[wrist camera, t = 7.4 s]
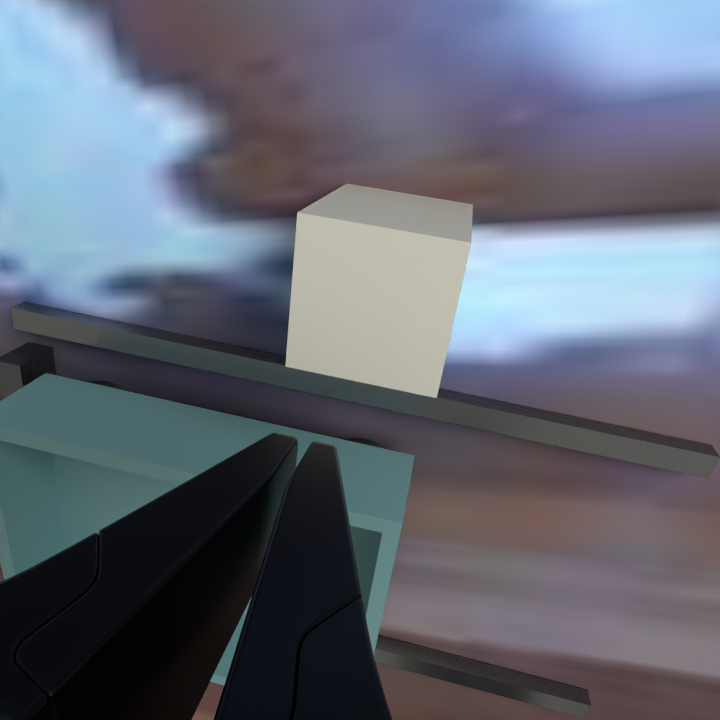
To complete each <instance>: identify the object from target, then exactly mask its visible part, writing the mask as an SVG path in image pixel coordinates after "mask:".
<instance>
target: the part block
mask: <svg viewBox="0 0 720 720" xmlns="http://www.w3.org/2000/svg"><path fill="white" fill-rule="evenodd" d="M472 211H473V205H472V204H466V203H460V202H454V201H448V200H442V199H436V198H430V197H424V196H418V195H412V194H406V193H400V192H394V191H388V190H382V189H376V188H370V187H364V186H358V185H352V184H345V185H343V186H342V187H340V188H338V189H337V190H335V191H333V192H331V193H330V194H328V195H326V196H325V197H323V198H321V199H319V200H318V201H316V202H314V203H313V204H311V205H309V206H308V207H306V208H304V209H302V210H301V211H299V212H297V224H296V236H295V249H294V262H293V275H292V288H291V300H290V313H289V326H288V339H287V352H286V365H285V367H290V368H295V369H299V370H304V371H309V372H314V373H319V374H323V375H328V376H333V377H338V378H343V379H347V380H352V381H357V382H362V383H367V384H371V385H376V386H381V387H386V388H390V389H395V390H400V391H405V392H410V393H414V394H419V395H424V396H429V397H434V398H437V394H438V390H439V385H440V381H441V376H442V372H443V367H444V363H445V358H446V354H447V349H448V345H449V340H450V336H451V331H452V327H453V322H454V318H455V313H456V309H457V304H458V300H459V295H460V291H461V286H462V282H463V277H464V273H465V268H466V264H467V259H468V255H469V250H470V246H471V234H472Z"/></svg>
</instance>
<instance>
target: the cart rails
mask: <svg viewBox="0 0 720 720" xmlns="http://www.w3.org/2000/svg"><path fill="white" fill-rule="evenodd" d="M11 313H12V319H13V325H14V329H16V330H21V331H25V332H30V333H34V334H39V335H44V336H48V337H53V338H58V339H62V340H67V341H72V342H76V343H81V344H86V345H90V346H95V347H99V348H104V349H109V350H113V351H118V352H123V353H127V354H132V355H137V356H141V357H146V358H151V359H155V360H160V361H164V362H169V363H174V364H178V365H183V366H188V367H192V368H197V369H202V370H206V371H211V372H216V373H220V374H225V375H229V376H234V377H239V378H243V379H248V380H253V381H257V382H262V383H267V384H271V385H276V386H281V387H285V388H290V389H294V390H299V391H304V392H308V393H313V394H318V395H322V396H327V397H332V398H336V399H341V400H346V401H350V402H355V403H359V404H364V405H369V406H373V407H378V408H383V409H387V410H392V411H397V412H401V413H406V414H411V415H415V416H420V417H424V418H429V419H434V420H438V421H443V422H448V423H452V424H457V425H462V426H466V427H471V428H476V429H480V430H485V431H489V432H494V433H499V434H503V435H508V436H513V437H517V438H522V439H527V440H531V441H536V442H541V443H545V444H550V445H554V446H559V447H564V448H568V449H573V450H578V451H582V452H587V453H592V454H596V455H601V456H606V457H610V458H615V459H619V460H624V461H629V462H633V463H638V464H643V465H647V466H652V467H657V468H661V469H666V470H671V471H675V472H680V473H684V474H689V475H694V476H698V477H703V478H708V479H709V478H710V476H711V474H712V472H713V470H714V468H715V466H716V464H717V462H718V460H719V458H720V456H719V455H718V454H717V452H716V451H715V449H714V448H713V446H712V445H708V444H703V443H699V442H694V441H689V440H684V439H679V438H675V437H670V436H665V435H660V434H656V433H651V432H646V431H641V430H636V429H632V428H627V427H622V426H617V425H612V424H608V423H603V422H598V421H593V420H588V419H584V418H579V417H574V416H569V415H564V414H560V413H555V412H550V411H545V410H540V409H536V408H531V407H526V406H521V405H516V404H512V403H507V402H502V401H497V400H493V399H488V398H483V397H478V396H473V395H469V394H464V393H459V392H454V391H449V390H445V389H440V388H439V390H438V394H437V398H434V397H429V396H424V395H419V394H414V393H410V392H405V391H400V390H395V389H390V388H386V387H381V386H376V385H371V384H367V383H362V382H357V381H352V380H347V379H343V378H338V377H333V376H328V375H323V374H319V373H314V372H309V371H304V370H299V369H295V368H290V367H285V365H286V356H282V355H277V354H272V353H267V352H262V351H258V350H253V349H248V348H243V347H238V346H234V345H229V344H224V343H219V342H214V341H210V340H205V339H200V338H195V337H191V336H186V335H181V334H176V333H171V332H167V331H162V330H157V329H152V328H147V327H143V326H138V325H133V324H128V323H123V322H119V321H114V320H109V319H104V318H99V317H95V316H90V315H85V314H80V313H75V312H71V311H66V310H61V309H56V308H51V307H47V306H42V305H37V304H32V303H28V302H23V303H21V304H18V305H16V306H14V307H11ZM45 373H48V374H53V375H56V372H55V364H54V356H53V349H52V347H48V346H43V345H39V344H34V343H29V342H28V343H26V344H24V345H22V346H21V347H19V348H17V349H15V350H13V351H11V352H9V353H7V354H5V355H3V356H2V357H0V395H1V400H3V399H5V398H6V397H8V396H10V395H11V394H13V393H14V392H16V391H18V390H19V389H21V388H22V387H24V386H26V385H27V384H29V383H31V382H32V381H34V380H35V379H37V378H39V377H40V376H42V375H43V374H45ZM374 660H375V662H378V663H382V664H385V665H389V666H393V667H397V668H400V669H404V670H408V671H411V672H415V673H419V674H422V675H426V676H430V677H434V678H437V679H441V680H445V681H448V682H452V683H456V684H460V685H463V686H467V687H471V688H474V689H478V690H482V691H486V692H489V693H493V694H497V695H500V696H504V697H508V698H511V699H515V700H519V701H523V702H526V703H530V704H534V705H537V706H541V707H545V708H549V709H552V710H556V711H560V712H563V713H567V714H571V715H574V716H578V717H582V718H585V716H586V714H587V712H588V710H589V708H590V706H591V704H590V699H589V694H588V690H585V689H581V688H577V687H573V686H570V685H566V684H562V683H558V682H554V681H551V680H547V679H543V678H539V677H535V676H532V675H528V674H524V673H520V672H516V671H513V670H509V669H505V668H501V667H498V666H494V665H490V664H486V663H482V662H479V661H475V660H471V659H467V658H463V657H460V656H456V655H452V654H448V653H444V652H441V651H437V650H433V649H429V648H426V647H422V646H418V645H414V644H410V643H407V642H403V641H399V640H395V639H391V638H388V637H384V636H380V635H378V639H377V643H376V648H375V652H374Z"/></svg>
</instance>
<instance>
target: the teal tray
mask: <svg viewBox="0 0 720 720" xmlns="http://www.w3.org/2000/svg"><path fill="white" fill-rule="evenodd" d="M274 432H276V433H281V434H286V435H290V436H294V437H296V438H297V440H298V452H297V463H296V467H297V466H298V464H299V462H300V461H301V459H302V457H303V455H304V454H305V452H306V450H307V449H308V447H309V445H310V444H311V443H312V442H314V441H317V442H322V443H327V444H331V445H334V446H336V448H337V452H338V458H339V464H340V470H341V476H342V482H343V488H344V494H345V500H346V505H347V511H348V517H349V523H350V529H351V535H352V541H353V547H354V553H355V558H356V564H357V570H358V576H359V582H360V588H361V594H362V601H363V604H364V610H365V616H366V621H367V627H368V631H369V636H370V641H371V646H372V650H373V655H374V652H375V648H376V643H377V639H378V634H379V629H380V625H381V620H382V616H383V611H384V607H385V602H386V597H387V593H388V588H389V584H390V579H391V575H392V570H393V566H394V561H395V556H396V552H397V547H398V543H399V538H400V534H401V529H402V524H403V519H404V513H405V508H406V502H407V496H408V491H409V485H410V479H411V474H412V468H413V462H414V457H415V456H414V455H410V454H405V453H401V452H397V451H392V450H388V449H383V447H381V446H380V445H379V444H377V443H375V442H373V441H370V440H367V439H350V440H343V439H338V438H334V437H330V436H325V435H321V434H316V433H312V432H307V431H303V430H298V429H294V428H289V427H285V426H280V425H276V424H271V423H267V422H263V421H258V420H254V419H249V418H245V417H240V416H236V415H231V414H227V413H222V412H218V411H213V410H209V409H204V408H200V407H196V406H191V405H187V404H182V403H178V402H173V401H169V400H164V399H160V398H155V397H151V396H146V395H142V394H137V393H133V392H129V391H124V390H120V388H119V387H118V386H117V385H116V384H114V383H111V382H106V381H93V382H84V381H79V380H75V379H70V378H66V377H62V376H57V375H53V374H48V373H45V374H43V375H42V376H40V377H39V378H37V379H35V380H34V381H32V382H31V383H29V384H27V385H26V386H24V387H22V388H21V389H19V390H18V391H16V392H14V393H13V394H11V395H10V396H8V397H6V398H5V399H3V400H1V401H0V563H1V567H2V572H3V577H4V580H6V579H8V578H10V577H12V576H14V575H16V574H18V573H20V572H22V571H24V570H26V569H29V568H31V567H33V566H34V565H36V564H38V563H40V562H42V561H44V560H46V559H48V558H49V557H51V556H53V555H55V554H57V553H59V552H61V551H62V550H64V549H66V548H68V547H70V546H72V545H74V544H75V543H77V542H79V541H81V540H82V539H84V538H86V537H88V536H90V535H91V534H93V533H97V534H98V535H99V531H100V530H101V529H102V528H104V527H106V526H108V525H109V524H111V523H113V522H115V521H117V520H118V519H120V518H122V517H124V516H125V515H127V514H129V513H131V512H133V511H134V510H136V509H138V508H140V507H141V506H143V505H145V504H147V503H148V502H150V501H152V500H154V499H156V498H157V497H159V496H161V495H163V494H164V493H166V492H168V491H170V490H172V489H173V488H175V487H177V486H179V485H180V484H182V483H184V482H186V481H188V480H189V479H191V478H193V477H195V476H196V475H198V474H200V473H202V472H204V471H205V470H207V469H209V468H211V467H212V466H214V465H216V464H218V463H220V462H221V461H223V460H225V459H227V458H228V457H230V456H232V455H234V454H235V453H237V452H239V451H241V450H243V449H244V448H246V447H248V446H250V445H251V444H253V443H255V442H257V441H259V440H260V439H262V438H264V437H266V436H267V435H269V434H271V433H274ZM251 598H252V597H251ZM250 601H251V599H250ZM250 601H249V603H248V605H247V607H246V609H245V611H244V613H243V615H242V617H241V619H240V621H239V623H238V625H237V627H236V629H235V631H234V633H233V636H232V638H231V640H230V642H229V644H228V646H227V648H226V650H225V652H224V654H223V656H222V658H221V660H220V662H219V664H218V666H217V668H216V670H215V672H214V674H213V676H212V678H211V680H210V682H213V683H217V684H220V685H225V682H226V679H227V675H228V672H229V669H230V666H231V662H232V659H233V656H234V653H235V649H236V646H237V643H238V640H239V636H240V633H241V630H242V627H243V623H244V620H245V617H246V614H247V610H248V607H249V604H250Z"/></svg>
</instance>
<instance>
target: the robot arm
mask: <svg viewBox="0 0 720 720" xmlns="http://www.w3.org/2000/svg"><path fill="white" fill-rule="evenodd" d="M297 452H298V440H297V438H296V437H294V436H290V435H286V434H281V433H276V432H274V433H271V434H269V435H267V436H266V437H264V438H262V439H260V440H259V441H257V442H255V443H253V444H251V445H250V446H248V447H246V448H244V449H243V450H241V451H239V452H237V453H235V454H234V455H232V456H230V457H228V458H227V459H225V460H223V461H221V462H220V463H218V464H216V465H214V466H212V467H211V468H209V469H207V470H205V471H204V472H202V473H200V474H198V475H196V476H195V477H193V478H191V479H189V480H188V481H186V482H184V483H182V484H180V485H179V486H177V487H175V488H173V489H172V490H170V491H168V492H166V493H164V494H163V495H161V496H159V497H157V498H156V499H154V500H152V501H150V502H148V503H147V504H145V505H143V506H141V507H140V508H138V509H136V510H134V511H133V512H131V513H129V514H127V515H125V516H124V517H122V518H120V519H118V520H117V521H115V522H113V523H111V524H109V525H108V526H106V527H104V528H102V529H101V530H100V531H99V535H98V534H97V533H93V534H91V535H90V536H88V537H86V538H84V539H82V540H81V541H79V542H77V543H75V544H74V545H72V546H70V547H68V548H66V549H64V550H62V551H61V552H59V553H57V554H55V555H53V556H51V557H49V558H48V559H46V560H44V561H42V562H40V563H38V564H36V565H34V566H33V567H31V568H29V569H26V570H24V571H22V572H20V573H18V574H16V575H14V576H12V577H10V578H8V579H6V580H4V581H2V582H0V720H191V719H192V717H193V715H194V713H195V711H196V709H197V707H198V705H199V703H200V701H201V699H202V697H203V695H204V693H205V691H206V689H207V687H208V684H209V682H210V680H211V678H212V676H213V674H214V672H215V670H216V668H217V666H218V664H219V662H220V660H221V658H222V656H223V654H224V652H225V650H226V648H227V646H228V644H229V642H230V640H231V638H232V636H233V633H234V631H235V629H236V627H237V625H238V623H239V621H240V619H241V617H242V615H243V613H244V611H245V609H246V607H247V605H248V603H249V601H250V599H251V601H250V604H249V607H248V610H247V614H246V617H245V620H244V623H243V627H242V630H241V633H240V636H239V640H238V643H237V646H236V649H235V653H234V656H233V659H232V662H231V666H230V669H229V672H228V675H227V679H226V682H225V685H224V688H223V692H222V695H221V698H220V701H219V704H218V708H217V711H216V714H215V717H214V720H392V717H391V714H390V711H389V708H388V705H387V701H386V698H385V695H384V691H383V688H382V684H381V681H380V677H379V674H378V670H377V667H376V663H375V660H374V655H373V650H372V646H371V641H370V636H369V631H368V627H367V621H366V616H365V610H364V604H363V601H362V594H361V588H360V582H359V576H358V570H357V564H356V558H355V553H354V547H353V541H352V535H351V529H350V523H349V517H348V511H347V505H346V500H345V494H344V488H343V482H342V476H341V470H340V464H339V458H338V452H337V448H336V446H334V445H331V444H327V443H322V442H317V441H314V442H312V443H311V444H310V445H309V447H308V449H307V450H306V452H305V454H304V455H303V457H302V459H301V461H300V462H299V464H298V466H297V467H296V463H297ZM251 597H252V598H251Z"/></svg>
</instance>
